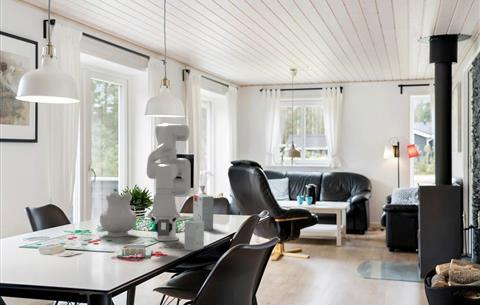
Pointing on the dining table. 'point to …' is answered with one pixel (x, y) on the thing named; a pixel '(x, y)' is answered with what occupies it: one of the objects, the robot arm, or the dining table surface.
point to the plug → (163, 227)
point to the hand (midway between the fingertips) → (163, 231)
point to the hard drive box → (203, 209)
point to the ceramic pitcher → (118, 215)
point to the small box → (194, 235)
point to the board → (135, 251)
